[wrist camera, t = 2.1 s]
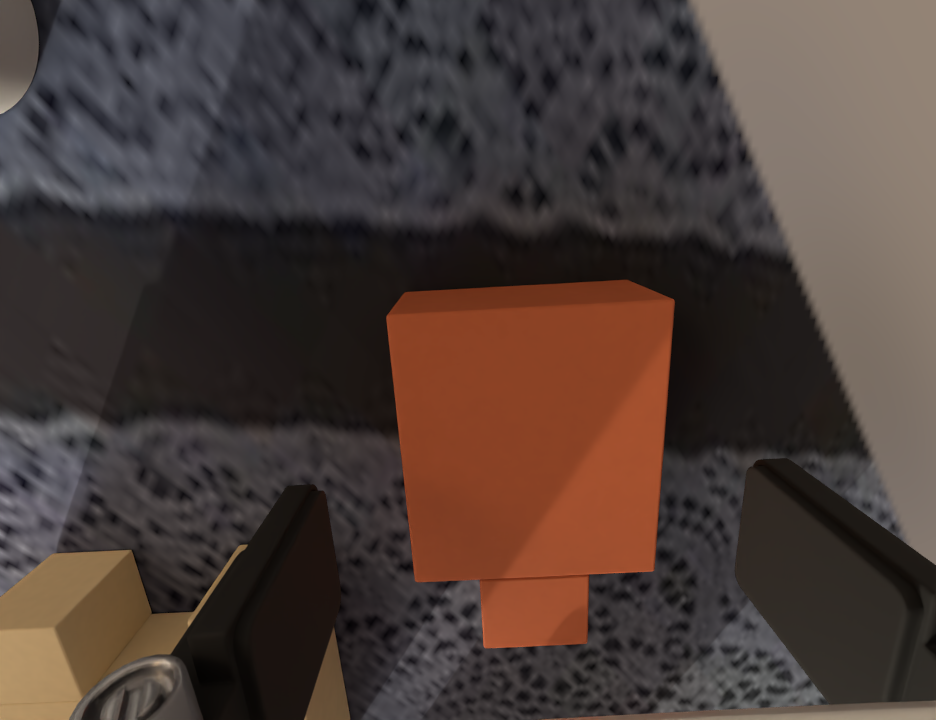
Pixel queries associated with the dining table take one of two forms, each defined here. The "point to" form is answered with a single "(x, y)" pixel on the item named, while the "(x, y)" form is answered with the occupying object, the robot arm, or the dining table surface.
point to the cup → (17, 50)
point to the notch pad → (101, 635)
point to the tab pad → (532, 443)
